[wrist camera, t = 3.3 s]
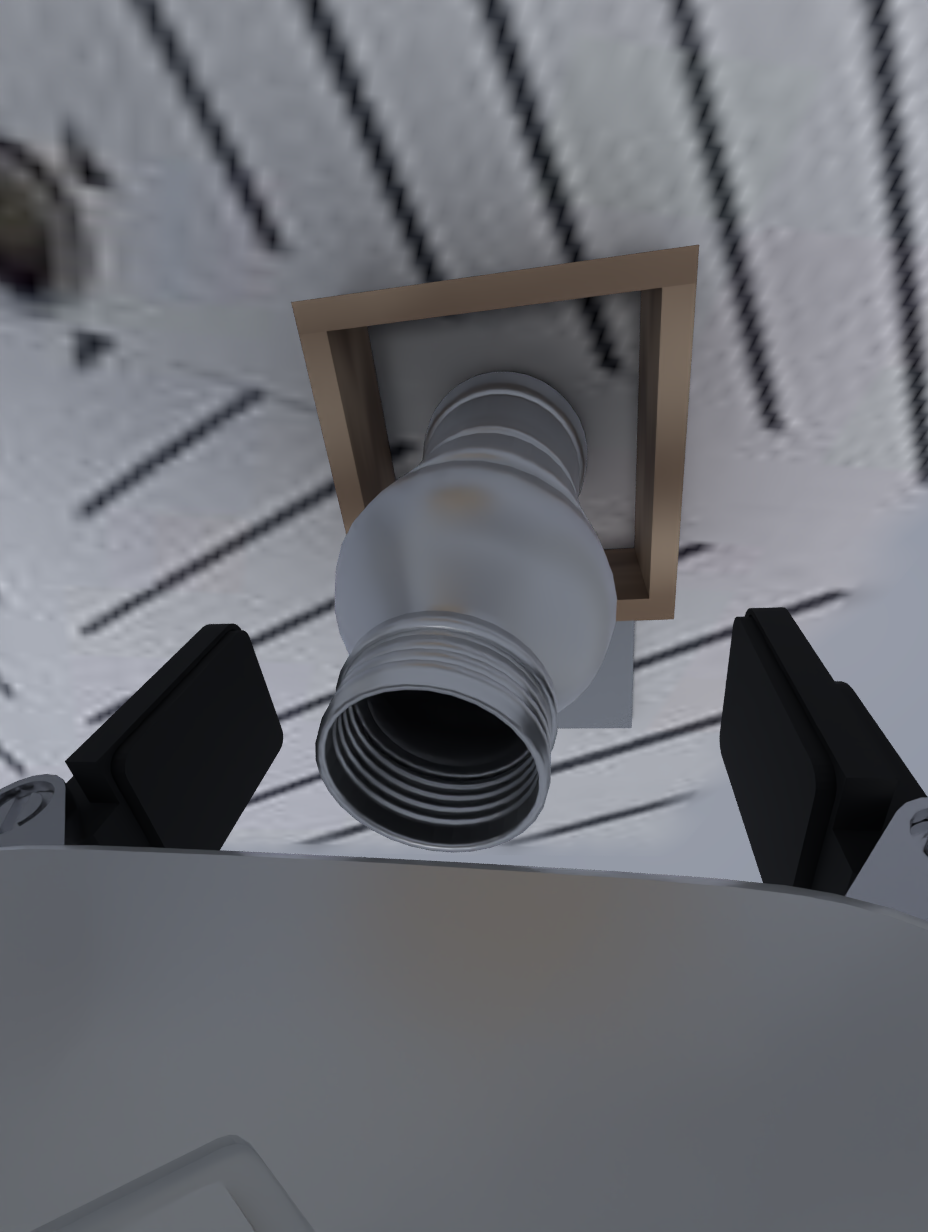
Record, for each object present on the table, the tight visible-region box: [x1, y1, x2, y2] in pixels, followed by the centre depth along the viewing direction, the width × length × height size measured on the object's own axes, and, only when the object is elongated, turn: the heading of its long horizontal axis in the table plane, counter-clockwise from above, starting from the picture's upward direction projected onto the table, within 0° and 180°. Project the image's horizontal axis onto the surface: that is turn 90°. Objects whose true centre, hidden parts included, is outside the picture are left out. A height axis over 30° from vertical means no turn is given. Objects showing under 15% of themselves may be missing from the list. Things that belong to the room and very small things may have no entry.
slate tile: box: [557, 621, 634, 728], centre depth 32 cm, size 8×11×1 cm
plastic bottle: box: [315, 372, 617, 852], centre depth 17 cm, size 6×7×20 cm
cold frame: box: [291, 245, 699, 621], centre depth 24 cm, size 13×13×5 cm
